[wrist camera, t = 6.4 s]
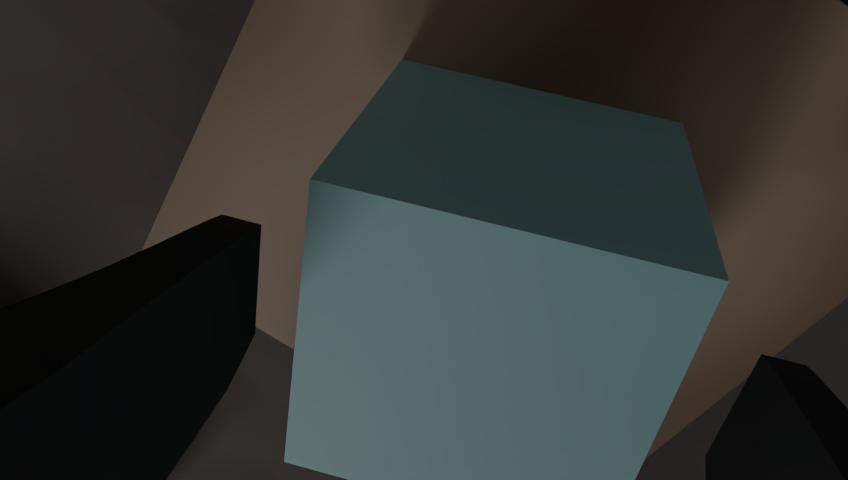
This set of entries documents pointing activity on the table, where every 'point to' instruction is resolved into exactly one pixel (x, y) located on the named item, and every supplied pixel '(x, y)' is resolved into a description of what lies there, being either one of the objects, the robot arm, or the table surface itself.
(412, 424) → the teal block
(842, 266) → the walnut base
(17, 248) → the table surface
